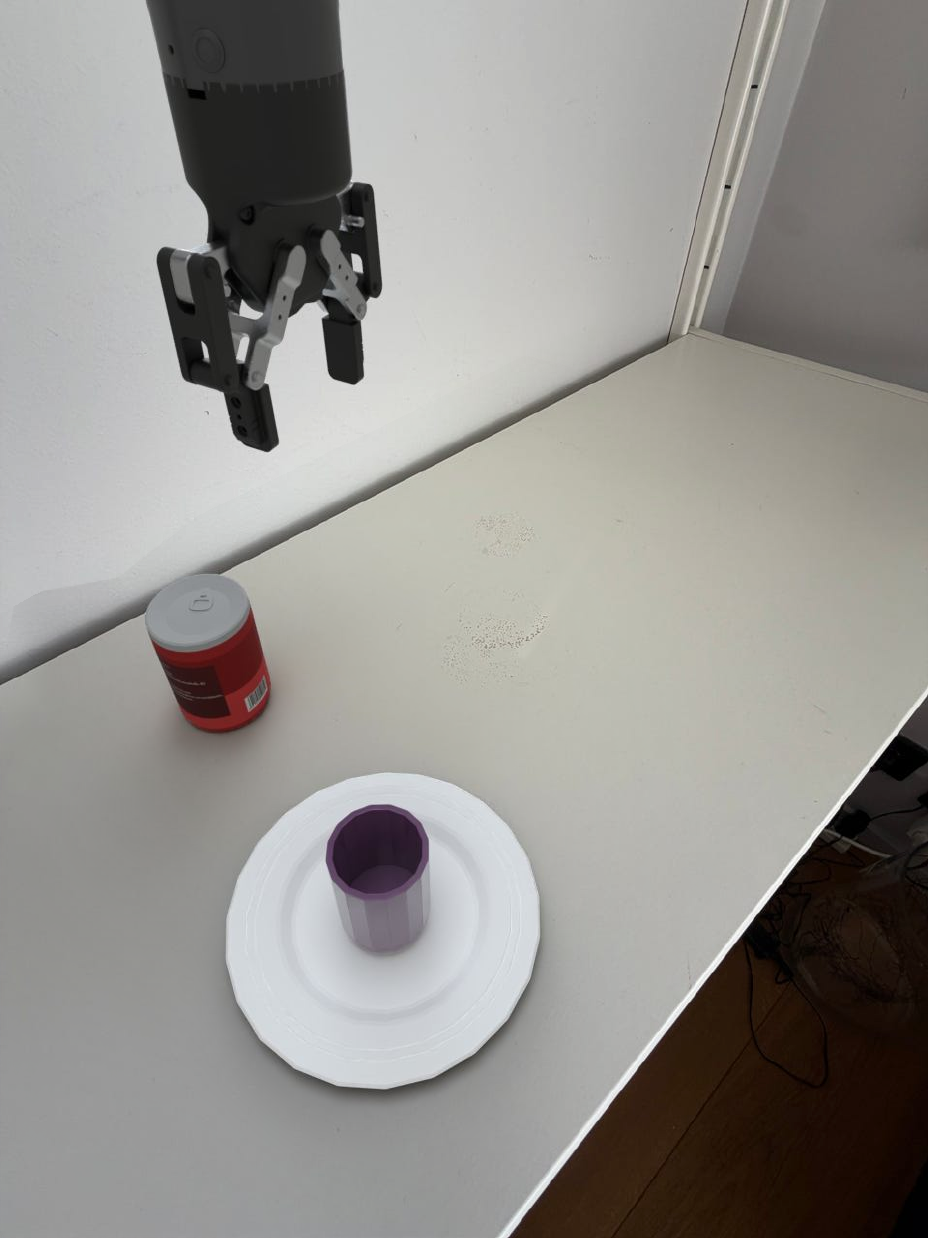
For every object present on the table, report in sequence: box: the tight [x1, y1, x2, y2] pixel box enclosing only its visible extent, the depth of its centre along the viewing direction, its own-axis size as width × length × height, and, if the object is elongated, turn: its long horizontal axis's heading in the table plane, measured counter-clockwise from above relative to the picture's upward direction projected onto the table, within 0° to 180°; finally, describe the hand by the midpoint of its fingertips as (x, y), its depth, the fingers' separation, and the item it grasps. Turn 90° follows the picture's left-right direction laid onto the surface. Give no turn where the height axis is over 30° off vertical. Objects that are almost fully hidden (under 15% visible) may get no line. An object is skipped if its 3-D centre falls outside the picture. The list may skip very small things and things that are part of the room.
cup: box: [325, 804, 430, 953], centre depth 44 cm, size 6×6×8 cm
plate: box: [225, 771, 541, 1091], centre depth 48 cm, size 21×21×2 cm
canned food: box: [144, 573, 272, 733], centre depth 58 cm, size 8×8×11 cm
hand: (306, 410), depth 41 cm, fingers open, 8 cm apart
